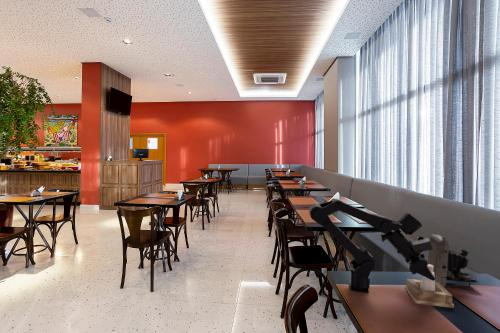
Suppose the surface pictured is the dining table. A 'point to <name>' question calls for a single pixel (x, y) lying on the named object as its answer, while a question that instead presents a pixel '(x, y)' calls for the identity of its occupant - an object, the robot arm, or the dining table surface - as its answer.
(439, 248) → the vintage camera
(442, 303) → the socket holder
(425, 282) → the pepper shaker
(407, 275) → the dining table surface
